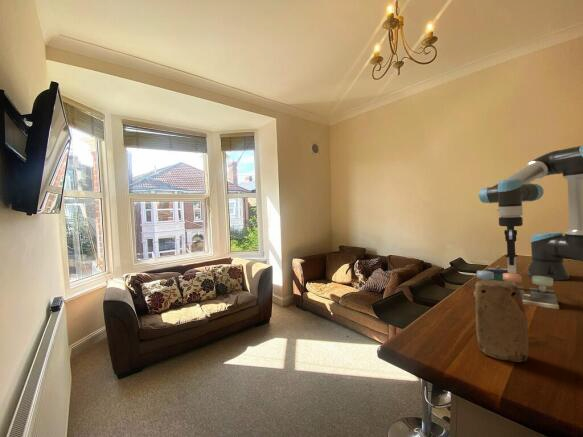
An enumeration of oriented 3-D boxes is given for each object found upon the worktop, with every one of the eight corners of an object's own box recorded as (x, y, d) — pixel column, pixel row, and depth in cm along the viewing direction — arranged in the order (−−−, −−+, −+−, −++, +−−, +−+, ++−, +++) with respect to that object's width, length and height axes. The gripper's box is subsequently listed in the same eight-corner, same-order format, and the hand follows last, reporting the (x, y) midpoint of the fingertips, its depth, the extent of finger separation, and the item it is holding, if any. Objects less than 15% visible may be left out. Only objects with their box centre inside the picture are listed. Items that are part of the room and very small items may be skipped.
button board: (473, 296, 111) (473, 286, 111) (476, 290, 118) (475, 280, 118) (559, 309, 93) (558, 297, 93) (555, 301, 101) (555, 289, 101)
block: (475, 353, 69) (473, 282, 69) (478, 342, 75) (476, 276, 74) (529, 368, 62) (527, 289, 62) (528, 354, 68) (526, 281, 67)
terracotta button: (510, 285, 109) (510, 272, 109) (526, 290, 103) (525, 275, 103) (499, 287, 108) (499, 273, 108) (514, 291, 102) (514, 277, 102)
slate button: (484, 282, 115) (484, 270, 115) (497, 286, 109) (497, 273, 109) (473, 284, 114) (473, 271, 114) (486, 288, 108) (486, 274, 108)
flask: (509, 286, 120) (508, 264, 120) (512, 288, 117) (511, 266, 117) (486, 285, 123) (485, 264, 123) (488, 287, 121) (487, 265, 120)
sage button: (539, 289, 103) (539, 275, 103) (557, 294, 97) (557, 278, 97) (528, 291, 102) (527, 276, 102) (545, 296, 96) (545, 280, 96)
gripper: (499, 215, 112) (501, 268, 113) (497, 217, 102) (499, 274, 103) (522, 215, 107) (523, 270, 108) (522, 217, 97) (524, 277, 98)
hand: (511, 272), depth 105 cm, fingers closed
